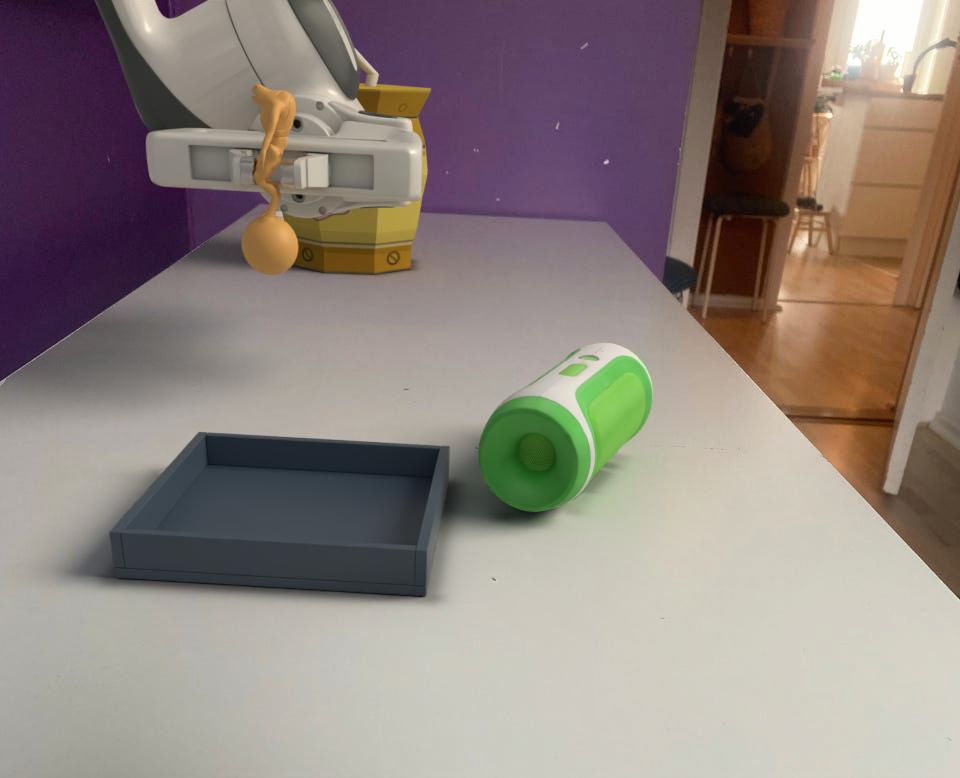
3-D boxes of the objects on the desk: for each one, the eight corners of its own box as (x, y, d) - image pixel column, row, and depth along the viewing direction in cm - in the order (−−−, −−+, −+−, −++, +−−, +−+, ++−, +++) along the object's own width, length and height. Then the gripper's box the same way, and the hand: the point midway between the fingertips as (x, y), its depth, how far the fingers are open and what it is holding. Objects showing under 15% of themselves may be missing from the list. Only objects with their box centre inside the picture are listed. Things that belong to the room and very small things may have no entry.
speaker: (558, 430, 78) (567, 329, 75) (652, 446, 76) (666, 343, 72) (467, 509, 64) (472, 389, 60) (580, 531, 62) (592, 408, 58)
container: (253, 251, 140) (240, 37, 127) (399, 247, 148) (400, 45, 136) (297, 281, 123) (288, 39, 111) (459, 275, 132) (467, 48, 119)
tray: (115, 578, 54) (108, 532, 52) (202, 469, 68) (198, 431, 67) (426, 596, 53) (427, 550, 52) (448, 484, 68) (449, 445, 66)
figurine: (258, 270, 79) (212, 94, 73) (335, 255, 78) (296, 77, 73) (241, 288, 71) (189, 94, 66) (327, 273, 71) (282, 77, 65)
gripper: (172, 105, 81) (110, 113, 69) (431, 119, 81) (414, 130, 69) (180, 191, 84) (121, 214, 72) (429, 206, 84) (413, 231, 72)
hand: (267, 173), depth 71 cm, fingers closed on figurine, 2 cm apart
